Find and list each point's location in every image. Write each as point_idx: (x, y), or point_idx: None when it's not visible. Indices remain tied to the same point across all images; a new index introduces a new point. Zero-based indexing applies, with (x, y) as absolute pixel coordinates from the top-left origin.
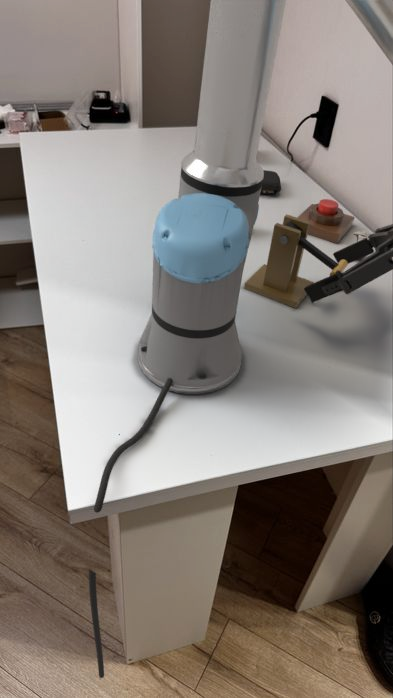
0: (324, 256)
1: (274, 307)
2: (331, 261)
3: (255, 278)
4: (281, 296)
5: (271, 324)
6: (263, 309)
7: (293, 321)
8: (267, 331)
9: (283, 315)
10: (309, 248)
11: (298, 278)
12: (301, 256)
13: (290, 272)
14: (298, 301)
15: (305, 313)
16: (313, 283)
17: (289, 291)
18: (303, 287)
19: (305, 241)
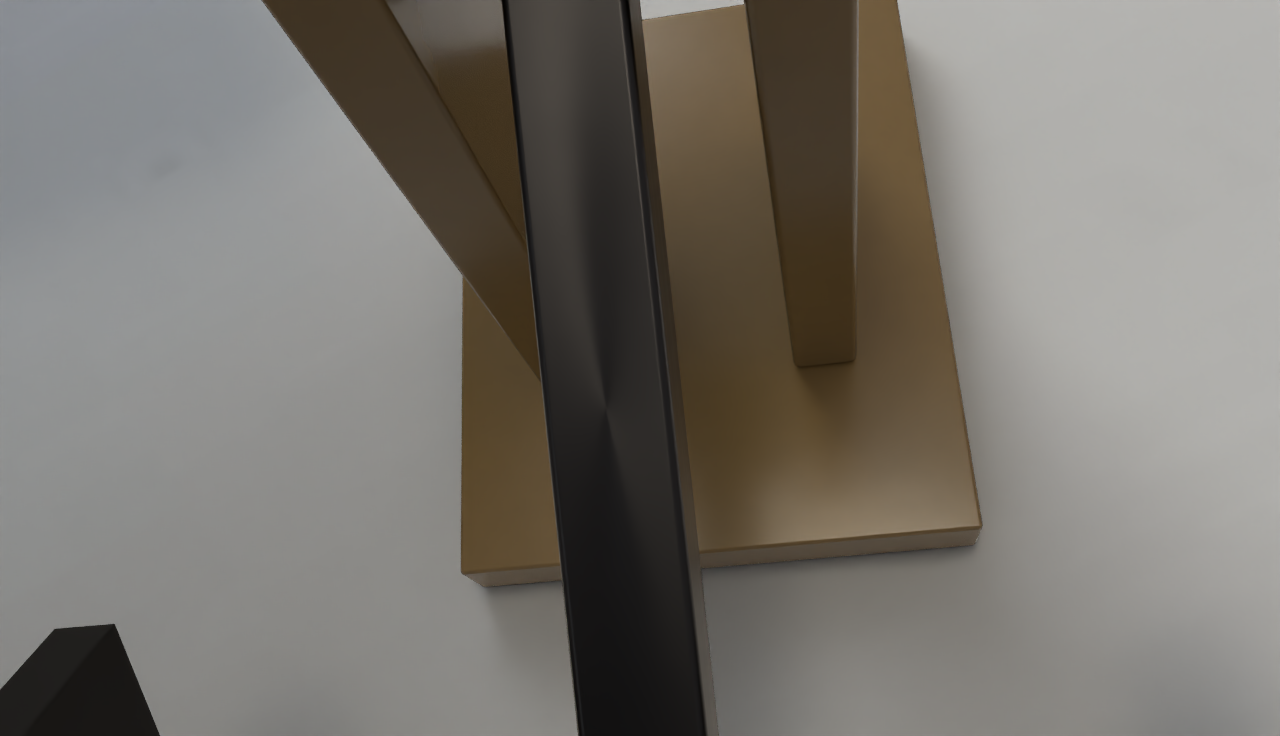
0: (585, 549)
1: (378, 422)
2: (611, 716)
3: None
4: (462, 397)
5: (125, 534)
6: (292, 366)
7: (273, 674)
8: (16, 558)
9: (309, 550)
10: (535, 232)
11: (911, 357)
12: (810, 206)
13: (483, 289)
14: (503, 572)
15: (467, 710)
16: (22, 722)
17: None
18: (784, 486)
19: (551, 75)
